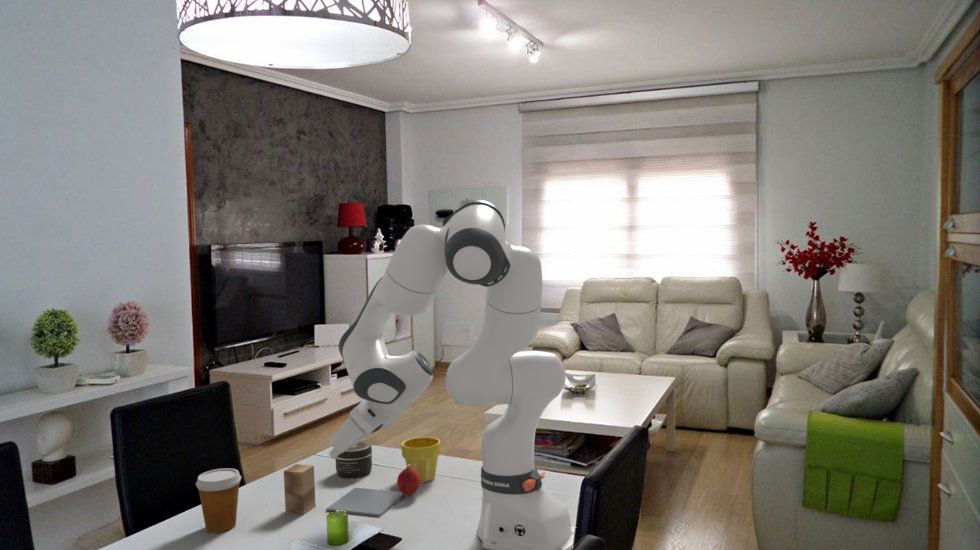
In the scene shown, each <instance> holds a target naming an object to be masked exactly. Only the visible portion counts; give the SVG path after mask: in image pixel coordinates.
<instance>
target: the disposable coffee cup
mask: <svg viewBox="0 0 980 550" xmlns="http://www.w3.org/2000/svg"><path fill="white" fill-rule="evenodd" d="M196 480H197V481H196V482H195V486H196V488H197V489H198V494H199V499H200V500H199V501H200V503H201V511H202V514H203V521H204V525H205V530H207V531H206V532H208V531H210V532H209V533H211V532H219V533H223V532H222V531H224V532H227V531H226V530H228V531H230V530H232V529H233V527H234V528H235V527H236V526H237V514H238V501H239V490H240V483H241V480H242V475H240V471H239V470H238V469H236V468H231V467H230V468H226V467H225V468H217V469H216V468H215V469H211V470H208V471H205V472H202V473H201V474H199V475H198V477H197V479H196ZM235 525H236V526H235ZM229 529H230V530H229Z"/></svg>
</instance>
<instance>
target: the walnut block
mask: <svg viewBox="0 0 980 550" xmlns="http://www.w3.org/2000/svg"><path fill="white" fill-rule="evenodd" d="M315 481H316V480H315V466H314V465H313V464H312V465H311V464H310V465H309V464H296V463H295V464H294V465H292V466H290V467H288V468H286V469H284V470H283V484H284V485H283V486H284V488H283V489H284V509H285V513H286V514H294V515H295V514H296V515H301V516H302V515H306V514H307V513H309V512H310V511H311V510H313V509H314V508H316V507H317V506H316V486H315V485H316V484H315Z"/></svg>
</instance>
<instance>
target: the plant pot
mask: <svg viewBox="0 0 980 550" xmlns="http://www.w3.org/2000/svg"><path fill="white" fill-rule="evenodd" d="M441 446H442V445H441V440H440V439H439V438H437V437H431V436H420V437H419V436H418V437H412V438H409V439H408V438H407V439H406V440H403V441H402V442H401V456H402V458H403V459H404V460H405V466H407V465H409V464H411V465H412V468H413V469H414V470H416V471H417V472H418V474H419V476H420V479H421V483H425V482H431V481H432V480H435V478H436V473H437V465H438V461H439V460H438V459H439V456H440V454H441V451H442V450H441V448H442V447H441ZM430 480H431V481H430Z"/></svg>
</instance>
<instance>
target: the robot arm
mask: <svg viewBox="0 0 980 550" xmlns="http://www.w3.org/2000/svg"><path fill="white" fill-rule="evenodd" d="M505 231H506V223H505V219H504V217H503V215H502V212H501V210H500V209H498V207H497V206H496V205H494V204H493V203H492V202H490V201H487V200H485V199H475V200H471V201H468V202H466V203H465V204H463V205H462V206H460V207H459V208H458V209H457V210H455V211H454V212H452V213H451V214H449V215H448V216H447V217H445V218H444V219H443V221H442V226H441V227H436V226H433V225H430V224H424V223H423V224H417V225H414V226H411V227H409V229H408V230H407V231H406V232H405V234H404V235H403V236H402V238H401V240H400V241H399V243H398V245H397V246H396V248H395V250H394V252H393V253H392V255H391V257H390V259H389V262H388V264H387V267H386V270H385V271H384V274H383V276H382V277H380V278H379V280H378V281H377V282H376V283H375V284H374V286H373V288H372V289H371V291H370V293H369V295H368V297H367V299H366V301H364V304H363V307H362V308H361V311H360V312H359V314H358V315H357V318H355V319H356V320H355V321H354V322H353V323H352V324H351V325H350V327H349V328H348V329H346V331H345V332H344V333H343V334H342V336H341V337H340V339H339V343H338V351H339V354H340V356H341V358H342V360H343V363H344V365H345V368H346V371H347V374H348V378H349V380H350V383H351V386H352V390H353V391H354V393H355V395H356V396H357V397H359V398H360V399H362V400H361V401H360V402H359V403H358V404H357V405H356V406H355V407H354V408H352V409H351V411H350V412H349V417H348V418H347V419H346V420H345V421H344V423H343V424H342V425H341V426H340V427H339V429H338V430H337V432H336V433H335V434H334V435H333V436H332V438H331V439H330V440H331V441H330V446H332V449H331V450H330V451H329V452H328V456H329V457H330V458H331V459H332V460H335V458H336V457H338V456H339V455H340V454H341V453H343V452H345V451H346V450H348V449H349V448H351V447H352V446H355V445H357V444H358V443H359V442H360V441H363V440H365V439H366V438H367V437H368V438H369V436H371V435H372V434H373V433H375V432H379V431H383V430H388V429H390V428H391V427H392V426H393V425H394V423H396V422H397V421H398V420H399V419H400V418H401V416H403V414H404V413H405V411H406V409H407V408H408V407H409V406H410V405H411V404H414V403H415V402H416V401H417V399H419V398H420V397H421V395H422V394H423V393H424V392H425V391H426V390H427V388H428V386H429V385H430V384H431V383H432V380H433V378H434V371H433V368H432V366H431V364H430V361H428V359H427V358H426V357H425V356H424V355H423V354H422V353H421V352H419V351H417V350H411V351H410V352H408V353H405V354H403V355H390V354H389V351H388V348H387V346H386V342H385V338H384V329H385V328H386V326H387V324H388V322H389V320H390V319H391V316H392V315H393V314H394V315H398V316H402V317H404V316H405V317H414V316H417V315H420V314H422V313H425V312H426V311H427V310H428V309H429V307H430V306H431V305H432V304H433V302H434V300H435V298H436V296H437V293H438V291H439V289H440V287H441V285H442V283H443V282H442V281H443V280H444V277H445V275H446V274H447V273H448V272H450V274H451V275H452V277H454V278H456V279H457V280H458V281H460V282H463V283H466V284H468V285H475V286H476V285H477V286H478V285H480V286H482V287H486V295H485V296H486V297H485V307H484V308H485V309H484V317H483V322H482V327H481V330H480V333H479V335H478V336H477V338H476V339H475V341H474V342H473V344H472V345H471V346H470V347H469V348H468V349H467V350H466V351H465V352H464V353H462V354H461V355H460V356H458V357H456V358H455V359H453V361H452V362H451V363H450V364H449V366H448V368H447V371H446V373H445V387H446V391H447V392H448V395H449V397H450V398H451V399H452V400H453V402H455V404H457V405H463V406H473V407H486V406H487V407H490V406H501V405H507V408H506V410H505V411H504V413H502V415H501V416H499V417H498V418H497V419H495V420H493V421H492V422H490V423H489V424H488V425H487V426H486V427H485V429H484V431H483V432H482V435H481V436H482V437H481V443H482V444H481V450H482V453H481V455H482V466H481V468H480V486H481V490H482V502H481V511H480V515H479V516H480V518H479V521H478V526H477V529H476V534H477V537H478V538H479V539H480V540H481V542H482V543H481V544H482V547H483V548H484V549H486V550H571V549H572V546H573V538H574V528H576V527H575V526H573V525H572V524H571V517H570V514H569V513H570V512H569V510H568V507H567V506H566V505H565V504H564V503H563V502H561V501H560V500H559V499H558V498H557V497H555V496H554V494H552V493H551V492H550V491H549V490H548V489H547V488H546V487H545V486H544V485H543V481H542V479H545V477H546V475H545V474H546V471H543V472H542V473H539V471H538V469H537V467H536V465H535V438H536V432H537V427H538V424H539V421H540V419H541V416H542V415H543V413H544V411H545V410H546V408H547V407H548V405H549V404H550V403H552V401H554V399H556V398H557V397H558V396H559V395H560V394H561V393H562V391H563V390H564V386H565V384H566V377H567V375H566V369H565V366H564V364H563V362H562V360H561V359H560V357H558V355H557V354H555V353H554V352H549V351H542V350H533V349H532V350H523V349H525V348H527V347H528V346H530V345H531V344H532V343H533V341H534V340H535V339H536V337H537V335H538V332H539V324H540V318H541V317H540V316H541V310H542V309H541V306H542V300H543V299H542V297H543V272H542V271H543V269H542V264H541V263H542V262H541V260H540V258H539V256H538V254H536V252H534V251H533V250H532V249H530V248H527V247H525V246H519V245H513V244H511V243H509V241H507V240H506V232H505ZM572 550H573V549H572Z"/></svg>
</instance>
